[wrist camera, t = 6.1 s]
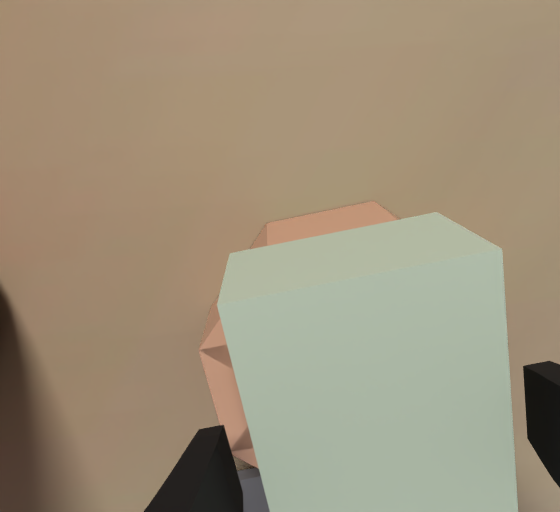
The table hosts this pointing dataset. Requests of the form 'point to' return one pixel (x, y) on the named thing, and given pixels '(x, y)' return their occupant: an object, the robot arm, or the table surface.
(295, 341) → the pale green block
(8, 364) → the table surface
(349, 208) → the bowl
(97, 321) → the table surface
